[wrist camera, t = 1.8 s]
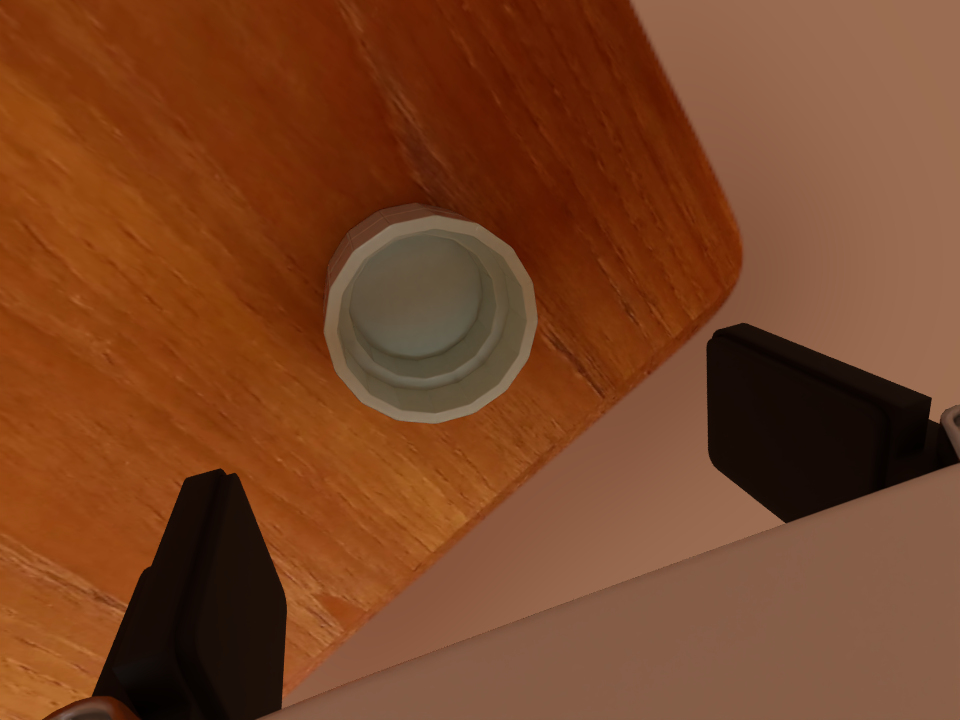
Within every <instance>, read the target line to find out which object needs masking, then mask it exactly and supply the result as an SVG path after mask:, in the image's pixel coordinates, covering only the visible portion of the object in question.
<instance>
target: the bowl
mask: <svg viewBox="0 0 960 720" xmlns="http://www.w3.org/2000/svg"><path fill="white" fill-rule="evenodd" d="M323 323H324V336H325V339H326V343H327V346H328V349H329V353H330V356H331V360H332V363H333V366H334V370H335V372H336V374H337V375H338V376H339V377H340V378H341V379H342V381H343V382H344V383H345V384H346V385H347V387H348V388H349V389H350V390H351V391H352V392H353V394H354V395H355V396H356V397H357V398H358V399H359V401H360V402H362V403H363V404H365V405H367V406H369V407H371V408H373V409H375V410H377V411H379V412H381V413H383V414H385V415H387V416H389V417H391V418H393V419H395V420H398V421H409V422H421V423H433V424H436V423H441V422H445V421H448V420H452V419H455V418H459V417H463V416H466V415H470V414H473V413H475V412H477V411H478V410H480V409H481V408H482V407H484V406H485V405H487V404H488V403H489V402H491V401H492V400H494V399H495V398H497V397H498V396H499V395H501V394H502V393H504V392H505V391H506V390H507V389H508V387H509V386H510V385H511V383H512V382H513V380H514V379H515V377H516V376H517V375H518V373H519V372H520V370H521V369H522V367H523V366H524V364H525V363H526V362H527V360H528V358H529V355H530V351H531V347H532V343H533V339H534V335H535V331H536V327H537V323H538V316H537V309H536V301H535V294H534V286H533V282H532V280H531V278H530V276H529V275H528V273H527V271H526V270H525V268H524V266H523V265H522V263H521V261H520V260H519V258H518V256H517V255H516V253H515V251H514V249H513V248H512V247H511V246H509V245H508V244H507V243H505V242H504V241H502V240H501V239H500V238H498V237H497V236H495V235H494V234H492V233H491V232H490V231H488V230H487V229H485V228H484V227H483V226H481V225H480V224H478V223H476V222H474V221H472V220H470V219H468V218H466V217H464V216H462V215H460V214H458V213H456V212H454V211H452V210H450V209H445V208H440V207H435V206H430V205H425V204H421V203H411V204H406V205H401V206H396V207H391V208H386V209H382V210H379V211H377V212H375V213H374V214H372V215H371V216H369V217H368V218H367V219H365V220H364V221H362V222H361V223H359V224H358V225H357V226H355V227H354V228H352V229H351V230H349V231H348V233H347V234H346V235H345V237H344V238H343V240H342V242H341V243H340V245H339V247H338V248H337V250H336V251H335V253H334V255H333V256H332V258H331V260H330V261H329V265H328V267H327V273H326V281H325V288H324V295H323Z"/></svg>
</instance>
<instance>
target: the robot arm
mask: <svg viewBox="0 0 960 720" xmlns="http://www.w3.org/2000/svg"><path fill="white" fill-rule="evenodd" d="M931 400H932V398H931V397H928V396H926V395H923V394H921V393H918V392H916V391H913V390H911V389H908V388H906V387H904V386H901V385H898V384H896V383H894V382H891V381H888V380H886V379H884V378H881V377H879V376H876V375H873V374H871V373H868V372H866V371H864V370H861V369H859V368H856V367H854V366H851V365H849V364H846V363H844V362H841V361H839V360H836V359H834V358H831V357H829V356H826V355H824V354H821V353H819V352H816V351H814V350H811V349H809V348H806V347H804V346H802V345H799V344H797V343H794V342H792V341H789V340H787V339H784V338H782V337H779V336H777V335H774V334H772V333H769V332H767V331H764V330H762V329H759V328H757V327H754V326H752V325H749V324H746V323H741V324H737V325H734V326H730V327H726V328H723V329H719V330H717V331H715V333H714V334H713V336H712V339H710V340H709V341H708V343H707V406H708V407H707V409H708V452H709V457H710V460H711V461H712V464H713V465H714V466H715V467H716V468H717V469H718V470H719V471H720V472H722V473H723V474H724V475H725V476H727V477H728V478H729V479H730V480H732V481H733V482H734V483H735V484H737V485H738V486H739V487H740V488H742V489H743V490H744V491H745V492H747V493H748V494H749V495H751V496H752V497H753V498H754V499H756V500H757V501H758V502H759V503H761V504H762V505H763V506H764V507H766V508H767V509H768V510H769V511H771V512H772V513H773V514H775V515H776V516H777V517H778V518H780V519H781V520H782V521H783V522H785V523H786V524H783V525H780V526H778V527H775V528H772V529H770V530H766V531H764V532H761V533H758V534H755V535H752V536H750V537H747V538H744V539H741V540H738V541H736V542H733V543H730V544H727V545H724V546H721V547H719V548H716V549H713V550H710V551H707V552H705V553H702V554H699V555H696V556H693V557H691V558H688V559H685V560H682V561H680V562H677V563H674V564H671V565H669V566H666V567H663V568H661V569H658V570H655V571H652V572H649V573H647V574H644V575H641V576H638V577H635V578H633V579H630V580H627V581H625V582H622V583H619V584H616V585H613V586H611V587H608V588H605V589H603V590H600V591H597V592H594V593H591V594H589V595H586V596H583V597H580V598H578V599H575V600H572V601H570V602H567V603H564V604H561V605H558V606H556V607H553V608H550V609H547V610H545V611H542V612H539V613H537V614H534V615H531V616H528V617H526V618H523V619H520V620H517V621H515V622H512V623H509V624H506V625H504V626H501V627H498V628H496V629H493V630H490V631H488V632H485V633H482V634H479V635H477V636H474V637H472V638H469V639H466V640H463V641H461V642H458V643H455V644H452V645H450V646H447V647H444V648H441V649H439V650H436V651H433V652H430V653H428V654H425V655H422V656H419V657H417V658H414V659H411V660H408V661H406V662H403V663H400V664H398V665H395V666H392V667H389V668H387V669H384V670H381V671H378V672H376V673H373V674H370V675H367V676H365V677H362V678H359V679H357V680H354V681H351V682H348V683H346V684H344V685H341V686H338V687H336V688H334V689H331V690H328V691H326V692H323V693H321V694H318V695H316V696H313V697H311V698H308V699H306V700H303V701H301V702H298V703H296V704H293V705H291V706H289V707H286V708H284V709H281V707H282V689H283V671H284V653H285V635H286V617H287V605H286V598H285V593H284V590H283V587H282V585H281V582H280V580H279V577H278V575H277V572H276V569H275V567H274V564H273V562H272V559H271V557H270V554H269V552H268V549H267V547H266V544H265V542H264V539H263V537H262V534H261V532H260V529H259V527H258V524H257V522H256V519H255V516H254V514H253V511H252V509H251V506H250V504H249V501H248V499H247V496H246V494H245V491H244V489H243V486H242V484H241V481H240V479H239V477H238V475H237V474H236V473H233V474H229V475H226V473H225V472H224V470H222V469H221V468H220V469H217V470H213V471H209V472H206V473H202V474H199V475H195V476H191V477H188V478H186V479H185V480H184V483H183V485H182V488H181V490H180V493H179V496H178V498H177V501H176V503H175V506H174V508H173V511H172V514H171V516H170V519H169V521H168V524H167V527H166V529H165V532H164V534H163V537H162V540H161V542H160V545H159V547H158V550H157V553H156V555H155V558H154V560H153V563H152V565H151V567H148V568H147V569H145V570H144V571H143V573H142V574H141V576H140V578H139V580H138V583H137V585H136V588H135V590H134V593H133V595H132V598H131V600H130V603H129V605H128V608H127V610H126V613H125V615H124V617H123V620H122V622H121V625H120V627H119V630H118V632H117V635H116V637H115V640H114V642H113V645H112V647H111V650H110V652H109V655H108V657H107V660H106V662H105V665H104V667H103V670H102V672H101V675H100V677H99V680H98V682H97V684H96V687H95V689H94V692H93V694H92V697H89V698H86V699H82V700H79V701H75V702H73V703H71V704H69V705H67V706H65V707H63V708H61V709H58V710H56V711H54V712H53V713H51V714H50V715H48V716H47V717H45V718H44V719H42V720H960V405H955V406H953V407H951V408H949V409H946V410H945V411H944V412H943V413H942V415H941V419H940V424H938V423H936V422H934V421H932V420H929V413H930V406H931Z"/></svg>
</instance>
